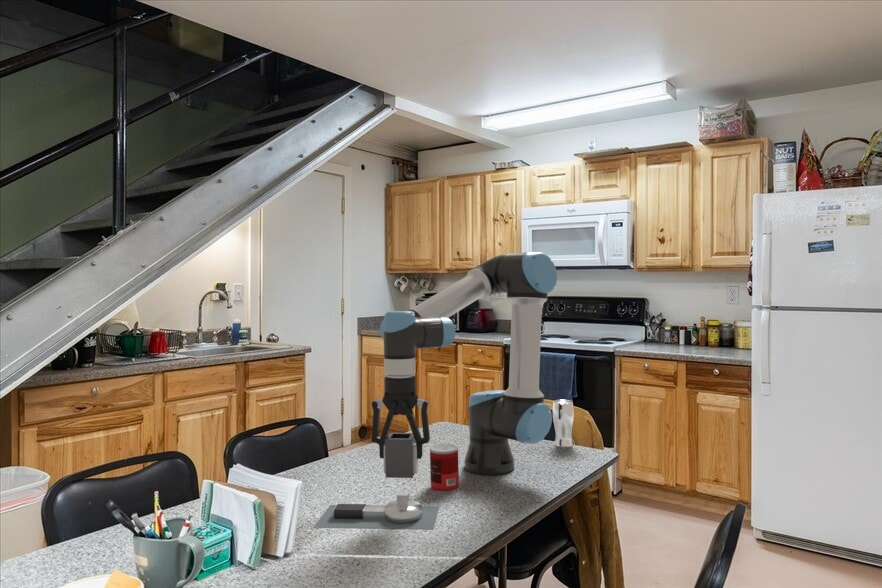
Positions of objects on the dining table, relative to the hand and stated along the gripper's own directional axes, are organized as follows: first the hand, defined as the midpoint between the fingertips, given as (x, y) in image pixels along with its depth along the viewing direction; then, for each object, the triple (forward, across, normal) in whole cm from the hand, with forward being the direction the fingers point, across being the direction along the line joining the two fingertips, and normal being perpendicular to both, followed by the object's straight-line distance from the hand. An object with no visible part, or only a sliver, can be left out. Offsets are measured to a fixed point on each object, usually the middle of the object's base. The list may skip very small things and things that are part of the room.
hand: (401, 471), depth 142 cm
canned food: (+11, -8, -22) cm, 26 cm away
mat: (+11, +6, 0) cm, 13 cm away
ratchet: (+11, +6, 0) cm, 13 cm away
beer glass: (+10, -45, -65) cm, 80 cm away
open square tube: (0, 0, 0) cm, 0 cm away
